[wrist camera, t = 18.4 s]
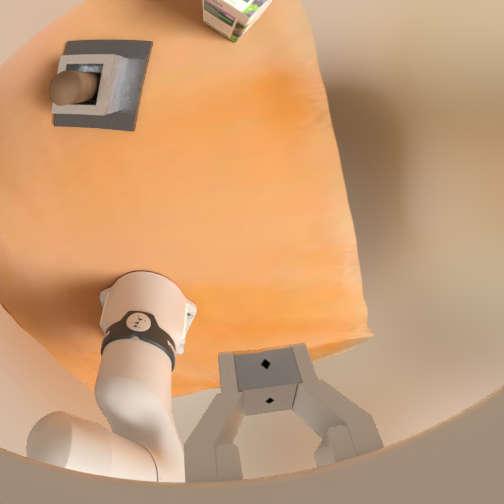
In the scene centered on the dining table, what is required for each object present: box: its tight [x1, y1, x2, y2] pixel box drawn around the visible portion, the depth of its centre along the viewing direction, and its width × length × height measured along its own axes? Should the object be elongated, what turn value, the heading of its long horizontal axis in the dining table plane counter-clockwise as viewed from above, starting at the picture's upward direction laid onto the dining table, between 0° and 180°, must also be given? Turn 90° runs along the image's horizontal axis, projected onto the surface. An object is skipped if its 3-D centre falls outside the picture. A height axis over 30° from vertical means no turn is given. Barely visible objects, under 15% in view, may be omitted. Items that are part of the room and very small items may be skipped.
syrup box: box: [202, 0, 273, 42], centre depth 23 cm, size 6×6×14 cm
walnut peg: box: [49, 71, 102, 106], centre depth 26 cm, size 4×4×10 cm
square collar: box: [51, 40, 153, 131], centre depth 28 cm, size 13×13×7 cm
